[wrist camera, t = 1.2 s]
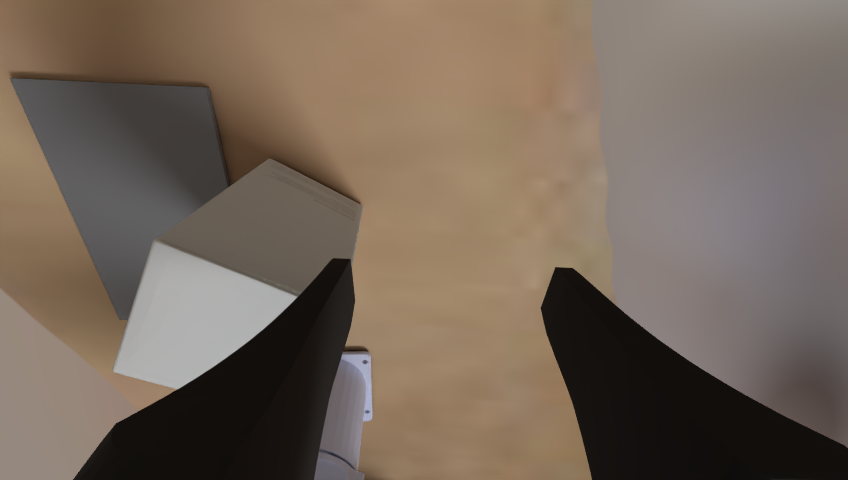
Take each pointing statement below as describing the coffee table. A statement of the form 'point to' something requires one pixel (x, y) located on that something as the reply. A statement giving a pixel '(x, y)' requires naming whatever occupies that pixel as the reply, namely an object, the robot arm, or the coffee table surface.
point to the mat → (126, 165)
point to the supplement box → (232, 271)
